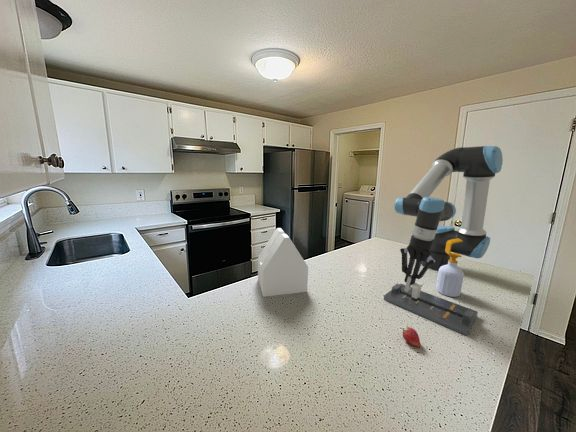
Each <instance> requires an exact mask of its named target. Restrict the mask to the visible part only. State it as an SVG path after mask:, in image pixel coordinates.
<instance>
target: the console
mask: <svg viewBox="0 0 576 432" xmlns="http://www.w3.org/2000/svg"><path fill="white" fill-rule="evenodd" d="M405 286H406V284H404V283H400V284H399V283H396V284H395V285H393V286H391V290H389V291H388V292H386V293H385V294H384V295H383V300H384V301H386V302H388V303H391V304H393V305H395V306H397V307H400V308H401V309H403V310H407V311H408V312H411V313H413V314H416V315H418V316H420V317H423V318H424V319H427V320H430V321H432V322H434V323H436V324H438V325H441V326H443V327H446V329H447V328H448V329H450V330H452V331H455V332H456V333H460V334H461V335H464V336H468V333H469V332H470V330H471V328H472V326H473V325H474V323H475V321H476V319H477V317H478V313H479V312H478V311H477V310H475V309H471V308H469V307H466V306H464V305H460V304H458V303H456V302H453V301H450V300H447V299H445V298H442V297H438V296H436V295H434V294H430V293H428V292H425V291H422V290H421V291H420V297H419V298H417V299H415V298H413V297H412V290H413V288H412V286H411V288H410V290H409V291H408V292H406V291H404V289H405Z"/></svg>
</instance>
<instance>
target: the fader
mask: <svg viewBox="0 0 576 432" xmlns="http://www.w3.org/2000/svg"><path fill="white" fill-rule="evenodd" d="M423 285H424V284H423V283H422V282H418V281H415V283H414V284H413V285H411V287H412V288H413V290H412V297H413V298H415V299H417V298H419V297H420V291H422V287H423Z"/></svg>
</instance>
